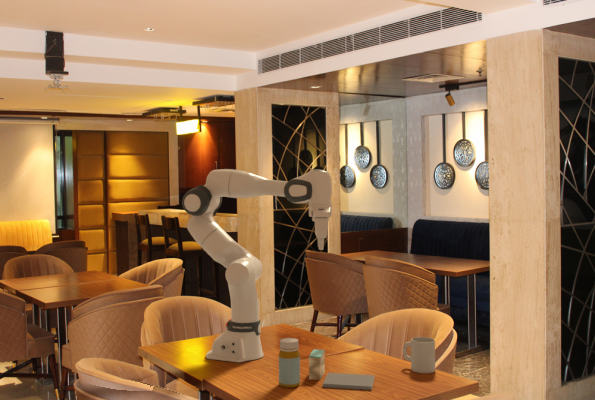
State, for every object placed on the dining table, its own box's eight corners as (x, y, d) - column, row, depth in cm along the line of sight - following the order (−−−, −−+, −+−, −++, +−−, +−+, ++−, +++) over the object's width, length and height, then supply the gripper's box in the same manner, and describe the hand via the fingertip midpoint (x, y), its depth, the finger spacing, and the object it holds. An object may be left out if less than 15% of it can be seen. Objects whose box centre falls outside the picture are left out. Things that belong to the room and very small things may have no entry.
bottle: (278, 382, 195) (278, 337, 195) (298, 381, 196) (298, 337, 196) (279, 388, 188) (279, 343, 188) (300, 388, 189) (300, 342, 189)
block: (309, 379, 198) (308, 356, 198) (313, 371, 207) (313, 349, 207) (320, 380, 197) (320, 356, 197) (324, 372, 206) (324, 349, 206)
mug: (439, 369, 208) (438, 338, 208) (429, 375, 202) (429, 343, 201) (408, 363, 215) (408, 334, 215) (398, 369, 209) (398, 339, 209)
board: (322, 387, 189) (322, 383, 189) (328, 376, 201) (328, 372, 201) (371, 390, 186) (371, 386, 186) (374, 378, 198) (374, 375, 198)
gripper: (311, 211, 228) (311, 246, 228) (312, 212, 207) (313, 251, 207) (327, 211, 228) (327, 246, 228) (330, 212, 207) (330, 251, 207)
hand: (320, 248), depth 217 cm, fingers open, 8 cm apart
